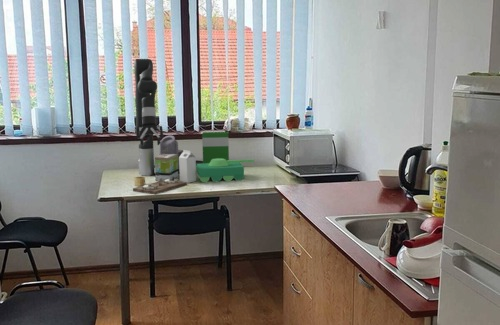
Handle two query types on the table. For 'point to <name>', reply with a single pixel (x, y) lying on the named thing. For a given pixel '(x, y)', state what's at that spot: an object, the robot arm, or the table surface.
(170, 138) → the grey watering can
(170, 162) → the tea box
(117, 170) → the table surface
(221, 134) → the hardback book
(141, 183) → the brass ring gear
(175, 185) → the gear board
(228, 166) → the toy tank
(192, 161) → the milk carton
